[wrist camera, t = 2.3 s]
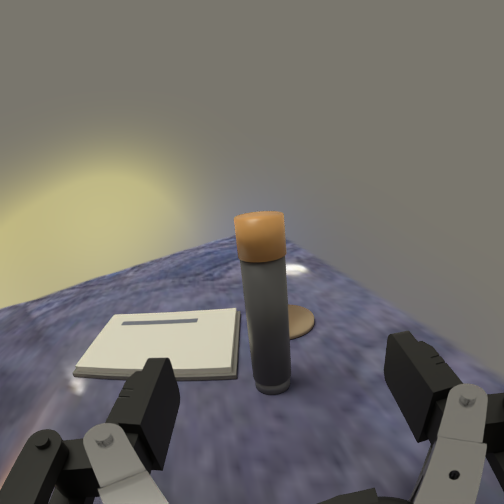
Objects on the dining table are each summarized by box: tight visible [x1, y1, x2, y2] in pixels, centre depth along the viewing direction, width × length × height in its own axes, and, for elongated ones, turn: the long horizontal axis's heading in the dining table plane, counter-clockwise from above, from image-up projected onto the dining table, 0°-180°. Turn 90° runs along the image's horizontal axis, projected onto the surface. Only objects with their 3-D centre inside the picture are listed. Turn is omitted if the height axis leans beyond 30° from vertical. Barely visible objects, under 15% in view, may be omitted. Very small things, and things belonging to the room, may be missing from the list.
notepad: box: [73, 308, 240, 381], centre depth 32 cm, size 16×12×1 cm
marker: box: [234, 211, 291, 395], centre depth 23 cm, size 3×3×14 cm
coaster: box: [288, 305, 314, 339], centre depth 34 cm, size 7×7×1 cm
